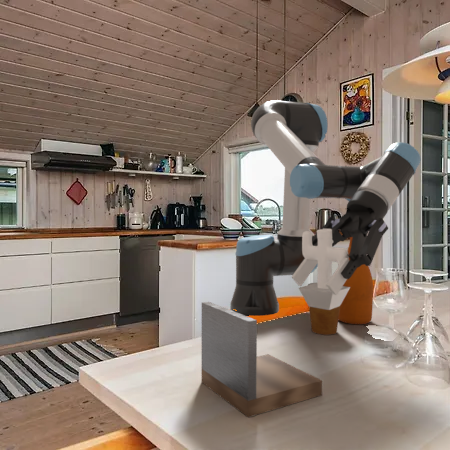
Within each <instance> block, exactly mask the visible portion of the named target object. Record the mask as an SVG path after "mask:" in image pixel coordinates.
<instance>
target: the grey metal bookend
mask: <svg viewBox="0 0 450 450" xmlns="http://www.w3.org/2000/svg"><path fill="white" fill-rule="evenodd" d="M257 330H258V320H257V319H254V318H252V317H250V316H248V315H242V314H239V313H237V312H234V311H232V310H230V309H229V308H226V307H223V306H221V305H219V304H216V303H213V302H210V301H205V302H204V301H203V302H201V370H202V369H203V370H204V371H206V372H207V373H209V374H210V375H212V376H213V377H214V378H216V379H217V380H219V381H220V382H222V383H223V384H225V385H226V386H227V387H229V388H230V389H232V390H233V391H235V392H236V393H237V394H239V395H240V396H242V397H243V398H245V399H246V400H248V401H250V400H253V399H256V368H257V357H258V356H257V349H258V348H257V347H258V346H257V341H258V340H257V335H258V331H257Z"/></svg>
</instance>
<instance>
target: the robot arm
mask: <svg viewBox="0 0 450 450" xmlns="http://www.w3.org/2000/svg"><path fill="white" fill-rule="evenodd" d="M250 129H251V132H252V134H253V136H254V137H255V139H256V140H257V141H258V142H259V143H261V144H263V145H266V146H267V148H268V149H269V150H270V151H271V153H273V155H274V156H275V157H276V158H277V159H278V160H279V162H280V163H281V165H283V167H284V181H283V182H284V183H283V205H282V206H283V207H282V227H281V228H280V229H279V230H278V231H277V234H276V235H277V237H276V238H274V235H273V234H259V235H257V234H256V235H251V236H245V237H243V238H239V239H238V240H237V242H236V250H235V279H236V280H235V288H234V292H233V295H232V298H231V301H230V302H229V303H230V304H229V305H230V309H229V310H232V311H234V312H237V313H239V314H242V315H245V316H248V317H250V316H251V317H253V316H254V317H257V316H259V317H263V316H270V315H275V314H277V313H278V312H279V311H280V304H279V301H278V299H277V298H278V297H277V294H276V293H277V292H276V291H275V287H274V277H280V276H281V277H282V276H283V277H284V276H291V278H292V279H293V281H294V282H295V283H296V284H297V286H299V287H303V285H304V284H305V281H306V280H307V279H308V277H309V276H310V275H311V274H312V273H313V272H315V270H316V269H318V261H317V260H310V259H306V258H304V256H303V253H302V234H303V232H305V231H309V232H311V233H312V244H313V246H318V238H317V232H316V233H314V232H313V231H312V230H311V229H310V226H311V209H312V208H311V206H312V205H311V203H312V200H313V199H345V200H346V201H348V202H347V204H346V211H345V214H343V215H342V216H341V217H340V218H335V217H334V216H330V217H328V219H327V221H326V222H325V224H324V225H323V226H322V227H321V228H320V229H332V240H333V244H332V247H335V246H336V245H337V244H338V243H340V242H344V241H345V240H347V239H348V238H349V239H350V237H353V238H352V244H351V250H350V254H349V255H348V254H347V255H348V257H349V258H350V260H349V259H348V258H344V259H343V261H342V262H341V264H340V265H339V266H337V268H336V270H335V271H334V273H332V277H331V278H330V279H329V281H328V282H327V284H326V286H327V287H328V288H329V289H330V291H331V292H332V293H333V294H334V295H337V294H338V292H339V291H340V289H341V288H342V286H343V285H344V283H345V282H346V280H347V279H349V278H351V276H352V275H353V273H354V272H355V270H356V269H357V267H360V266H361V265H364V264H365V265H366V266H369V267H370V266H371V265H372V262H373V260H374V257H375V255H376V252H377V250H378V248H379V245H380V243H381V240H382V238H383V236H384V235H385V233H386V232H387V231H388V229H389V226H388V225H387V224H386V222H385V221H384V218H385V217H386V216H387V214H388V211H389V210H390V209H391V208H392V206H393V205H394V203H395V202H396V200H397V199H398V197H399V196H400V194H401V193H402V191H403V190H404V188H405V187H406V186H407V184H408V183H409V181H410V180H411V178H412V177H413V176H414V175H415V174H416V171H417V170H418V168H419V165H420V164H421V160H422V158H421V155H420V153H419V151H418V150H417V149H416V148H415V147H414V146H413V145H411V144H410V143H407V142H403V141H400V142H399V141H398V142H395V143H394V142H393V143H392V144H390V145H389V146H388V148H387V149H386V150H384V152H383V154H382V155H381V156H380V157H378V158H376V159H374V160H373V161H371V162H369V163H367V164H364V165H363V166H353V165H352V166H348V165H329V164H325V163H324V162H323V161H322V160H321V159H320V158H319V157H318V156H317V155H316V154H315V152H316V150H317V149H318V148H319V147H320V146H319V144H320V143H321V142H323V141H324V139H325V138H326V134H327V133H328V118H327V114H326V112H325V110H324V109H323V108H322V107H321V106H320V105H318V104H316V103H315V104H314V103H311V102H302V101H301V102H299V101H298V102H297V101H288V100H287V101H286V100H278V99H277V100H270V101H266V102H264V103H262V104H261V105H259V106H258V107H257V109H256V110H255V111H254V112H253V114H252V117H251V121H250ZM233 309H236V310H237V311H235V310H233Z"/></svg>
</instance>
